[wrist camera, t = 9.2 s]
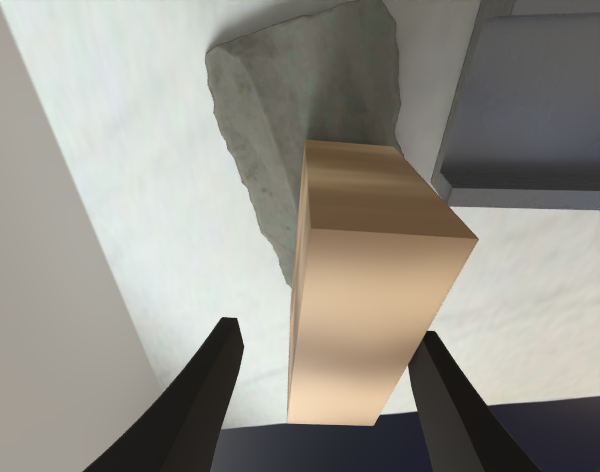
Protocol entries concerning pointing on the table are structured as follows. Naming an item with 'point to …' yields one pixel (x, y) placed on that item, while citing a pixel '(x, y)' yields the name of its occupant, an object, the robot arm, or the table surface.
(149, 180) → the table surface
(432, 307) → the oak board
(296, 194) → the stone slab
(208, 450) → the robot arm
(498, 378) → the table surface
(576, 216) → the table surface
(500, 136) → the rack
